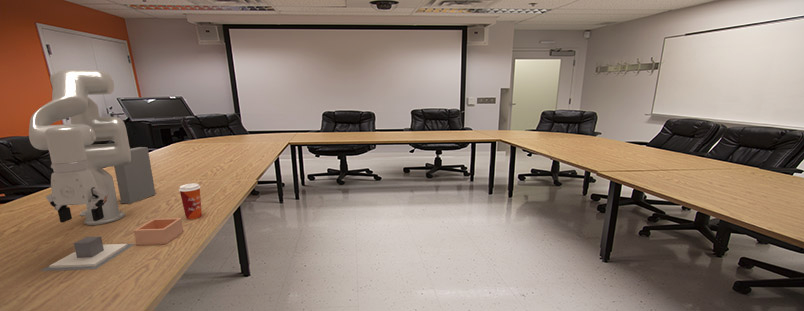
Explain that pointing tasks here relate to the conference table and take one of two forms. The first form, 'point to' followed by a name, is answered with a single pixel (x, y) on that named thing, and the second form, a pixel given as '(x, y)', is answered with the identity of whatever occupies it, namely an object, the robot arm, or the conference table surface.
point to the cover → (88, 253)
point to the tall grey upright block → (135, 177)
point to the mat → (88, 267)
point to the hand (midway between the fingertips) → (82, 220)
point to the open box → (158, 231)
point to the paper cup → (191, 200)
